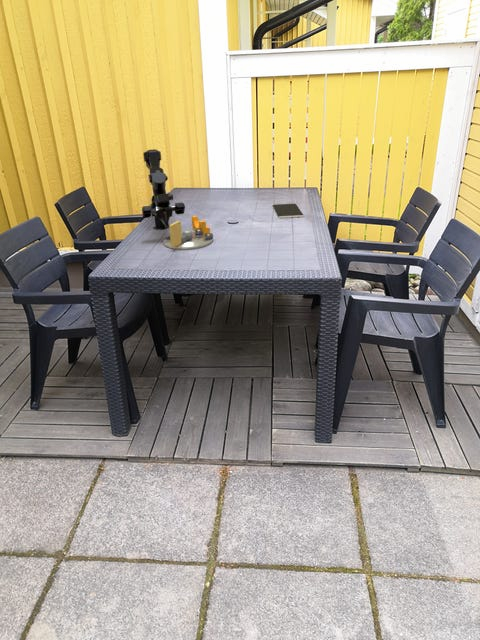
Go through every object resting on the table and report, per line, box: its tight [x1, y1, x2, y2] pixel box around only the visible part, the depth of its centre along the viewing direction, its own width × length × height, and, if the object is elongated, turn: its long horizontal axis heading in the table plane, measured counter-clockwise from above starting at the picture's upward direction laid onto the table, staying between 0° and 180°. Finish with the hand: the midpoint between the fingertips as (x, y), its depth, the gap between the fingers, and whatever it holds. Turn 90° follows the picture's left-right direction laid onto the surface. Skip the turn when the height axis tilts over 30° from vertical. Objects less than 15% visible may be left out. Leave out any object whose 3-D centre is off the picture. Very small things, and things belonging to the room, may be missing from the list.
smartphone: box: [272, 203, 305, 220], centre depth 257 cm, size 13×27×2 cm, turn 4°
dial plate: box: [162, 228, 214, 251], centre depth 214 cm, size 22×22×3 cm
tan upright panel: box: [168, 220, 193, 247], centre depth 207 cm, size 15×4×10 cm, turn 156°
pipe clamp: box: [191, 215, 211, 234], centre depth 228 cm, size 12×4×6 cm, turn 25°
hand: (167, 226), depth 210 cm, fingers closed
